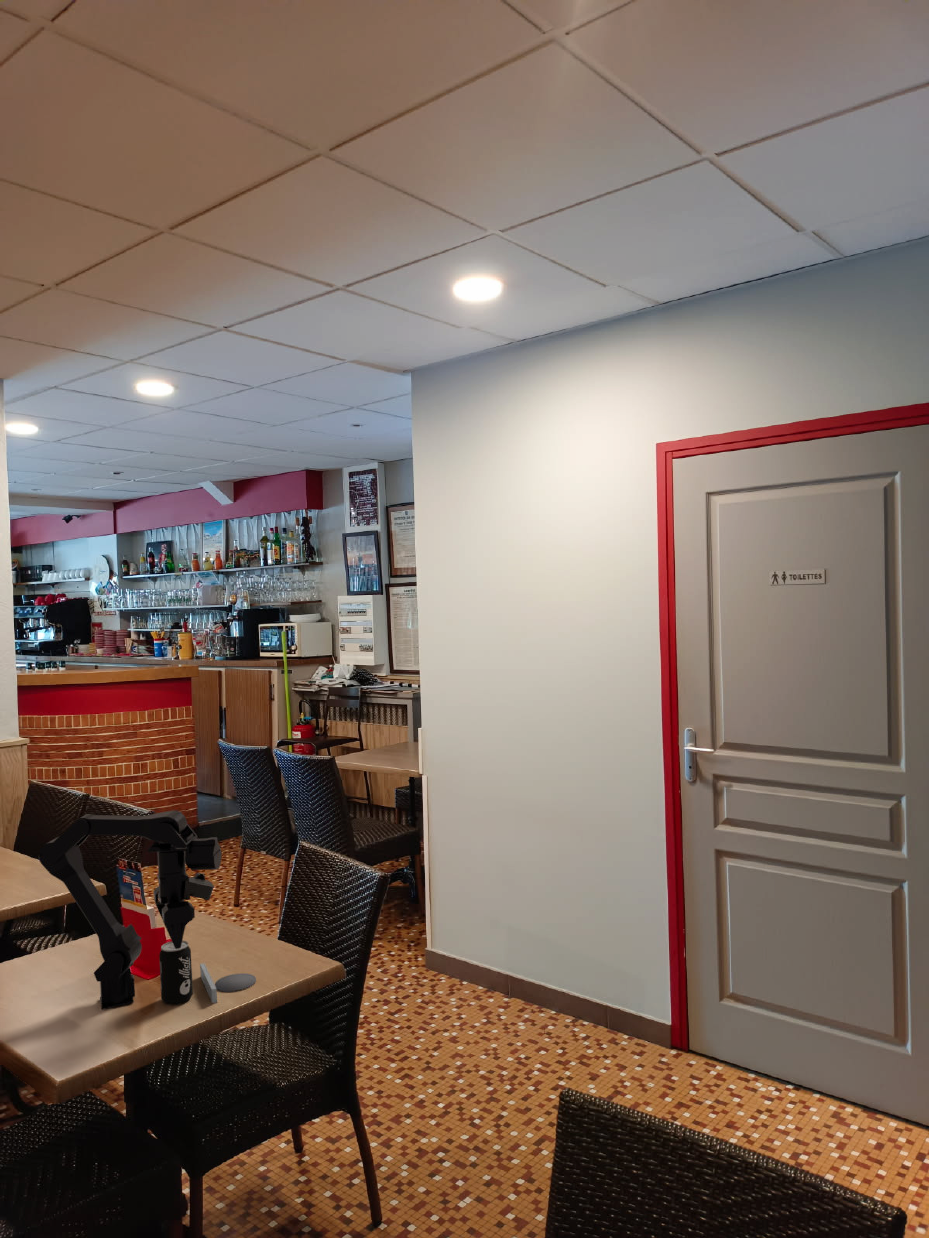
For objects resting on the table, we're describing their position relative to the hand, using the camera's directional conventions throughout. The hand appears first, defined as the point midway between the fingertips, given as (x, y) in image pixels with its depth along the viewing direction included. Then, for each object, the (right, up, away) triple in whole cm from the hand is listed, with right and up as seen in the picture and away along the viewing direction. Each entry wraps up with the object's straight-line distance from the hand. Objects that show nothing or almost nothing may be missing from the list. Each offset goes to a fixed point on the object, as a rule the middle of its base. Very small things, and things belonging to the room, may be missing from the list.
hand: (174, 941), depth 197 cm
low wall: (+6, -12, +5) cm, 15 cm away
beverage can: (+1, -13, 0) cm, 13 cm away
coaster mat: (+11, -12, +7) cm, 18 cm away
